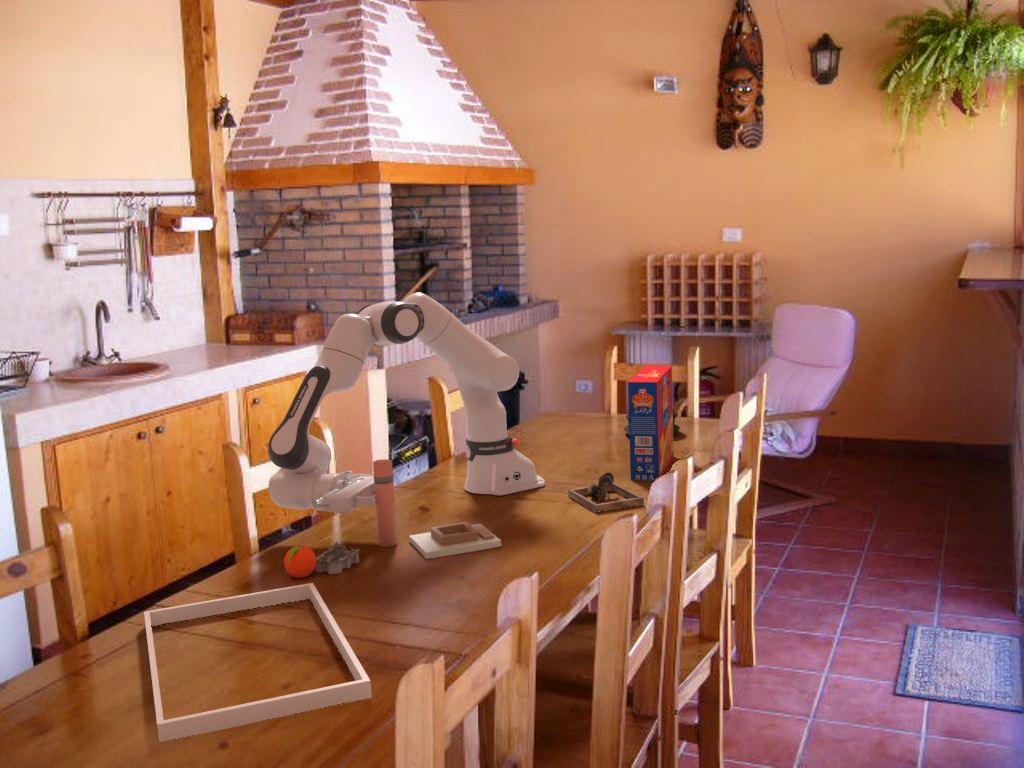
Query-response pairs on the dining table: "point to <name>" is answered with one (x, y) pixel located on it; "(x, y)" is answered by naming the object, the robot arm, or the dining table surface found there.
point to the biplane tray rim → (261, 708)
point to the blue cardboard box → (650, 422)
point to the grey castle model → (330, 557)
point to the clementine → (300, 561)
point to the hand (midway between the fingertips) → (384, 495)
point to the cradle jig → (454, 540)
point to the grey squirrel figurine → (601, 486)
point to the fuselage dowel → (385, 502)
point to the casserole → (675, 427)
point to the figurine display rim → (630, 502)
